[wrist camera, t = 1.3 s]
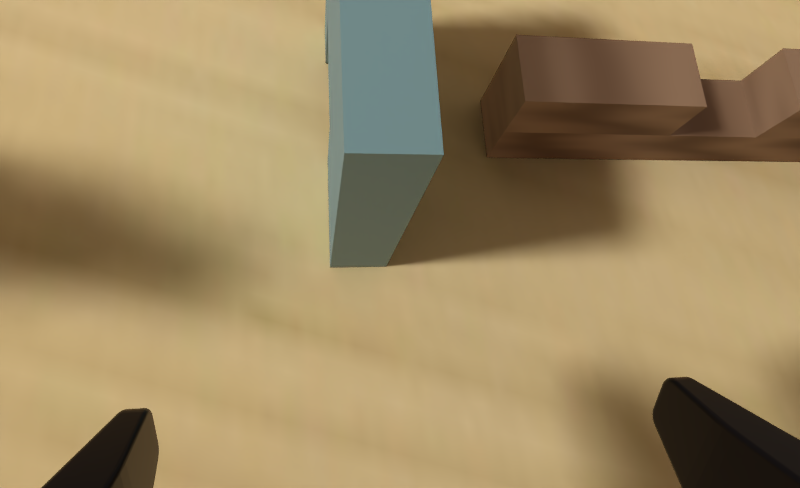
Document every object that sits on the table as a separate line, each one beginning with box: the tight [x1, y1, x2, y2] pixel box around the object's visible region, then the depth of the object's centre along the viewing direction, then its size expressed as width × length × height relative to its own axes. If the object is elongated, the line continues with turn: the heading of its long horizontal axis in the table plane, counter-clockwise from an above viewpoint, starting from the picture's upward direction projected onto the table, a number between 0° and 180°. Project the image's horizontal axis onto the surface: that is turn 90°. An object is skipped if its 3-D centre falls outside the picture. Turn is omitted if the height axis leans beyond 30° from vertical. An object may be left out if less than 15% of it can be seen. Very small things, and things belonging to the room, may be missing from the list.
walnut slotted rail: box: [481, 35, 800, 162], centre depth 26 cm, size 20×3×5 cm, turn 93°
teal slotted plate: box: [325, 0, 444, 267], centre depth 20 cm, size 12×2×11 cm, turn 3°
